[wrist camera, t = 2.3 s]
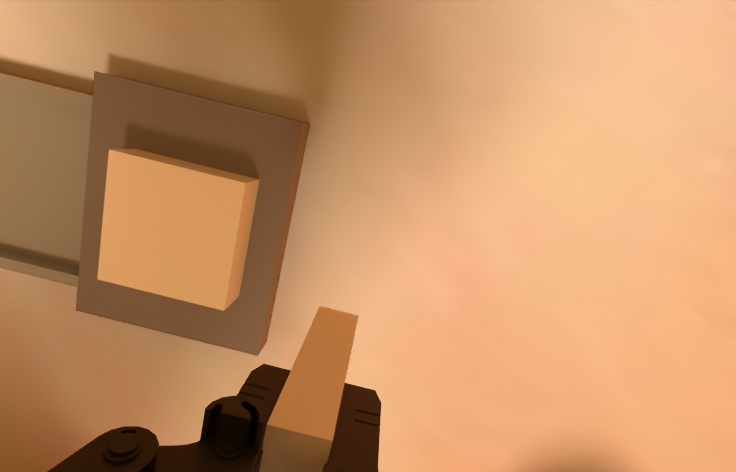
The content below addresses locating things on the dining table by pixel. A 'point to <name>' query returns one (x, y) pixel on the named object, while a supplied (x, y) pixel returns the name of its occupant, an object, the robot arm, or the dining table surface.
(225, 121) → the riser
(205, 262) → the coaster
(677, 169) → the dining table surface
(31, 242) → the tray
